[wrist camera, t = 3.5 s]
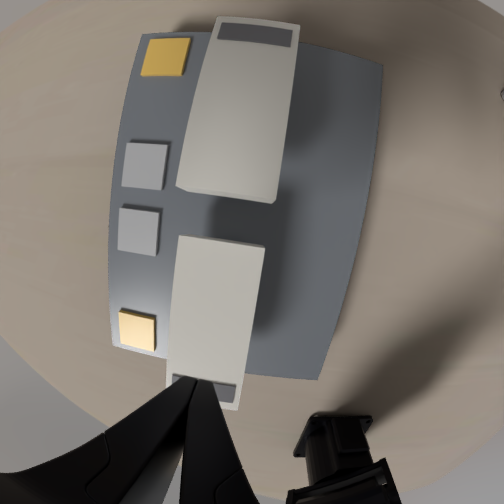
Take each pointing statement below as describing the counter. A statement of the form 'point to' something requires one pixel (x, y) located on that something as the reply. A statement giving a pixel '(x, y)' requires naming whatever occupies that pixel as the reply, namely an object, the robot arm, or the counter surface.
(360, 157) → the switch unit
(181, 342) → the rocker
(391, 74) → the counter surface
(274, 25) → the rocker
